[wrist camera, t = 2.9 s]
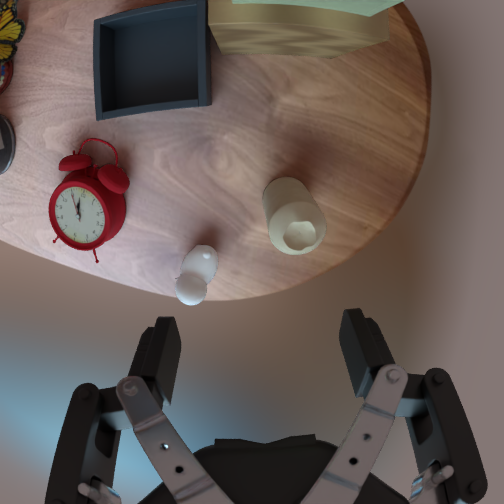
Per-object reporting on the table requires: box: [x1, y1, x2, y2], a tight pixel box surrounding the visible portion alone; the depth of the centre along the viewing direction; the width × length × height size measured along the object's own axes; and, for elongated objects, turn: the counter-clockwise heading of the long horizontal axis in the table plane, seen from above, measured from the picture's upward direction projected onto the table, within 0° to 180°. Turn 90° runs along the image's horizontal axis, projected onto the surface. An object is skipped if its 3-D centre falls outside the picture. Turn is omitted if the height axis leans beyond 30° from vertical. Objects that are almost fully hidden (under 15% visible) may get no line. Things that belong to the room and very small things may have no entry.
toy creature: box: [175, 245, 218, 305], centre depth 36 cm, size 5×8×6 cm, turn 152°
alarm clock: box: [49, 138, 130, 263], centre depth 31 cm, size 10×6×15 cm
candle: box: [263, 177, 327, 255], centre depth 30 cm, size 6×6×10 cm
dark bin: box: [93, 0, 212, 121], centre depth 24 cm, size 12×12×5 cm
